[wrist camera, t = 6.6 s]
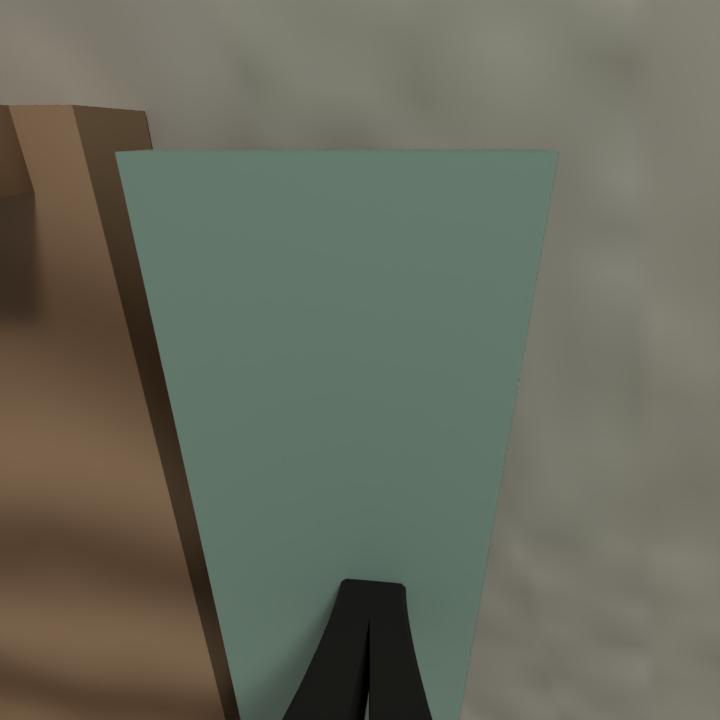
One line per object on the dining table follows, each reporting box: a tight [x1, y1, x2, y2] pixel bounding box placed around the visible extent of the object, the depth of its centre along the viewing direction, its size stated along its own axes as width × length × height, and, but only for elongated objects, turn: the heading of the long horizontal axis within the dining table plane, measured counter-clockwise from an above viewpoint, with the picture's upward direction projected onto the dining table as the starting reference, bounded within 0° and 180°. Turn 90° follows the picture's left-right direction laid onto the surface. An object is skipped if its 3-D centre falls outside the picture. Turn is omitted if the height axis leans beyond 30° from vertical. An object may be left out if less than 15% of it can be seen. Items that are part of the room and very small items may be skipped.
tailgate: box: [115, 150, 559, 720], centre depth 11 cm, size 19×2×6 cm
